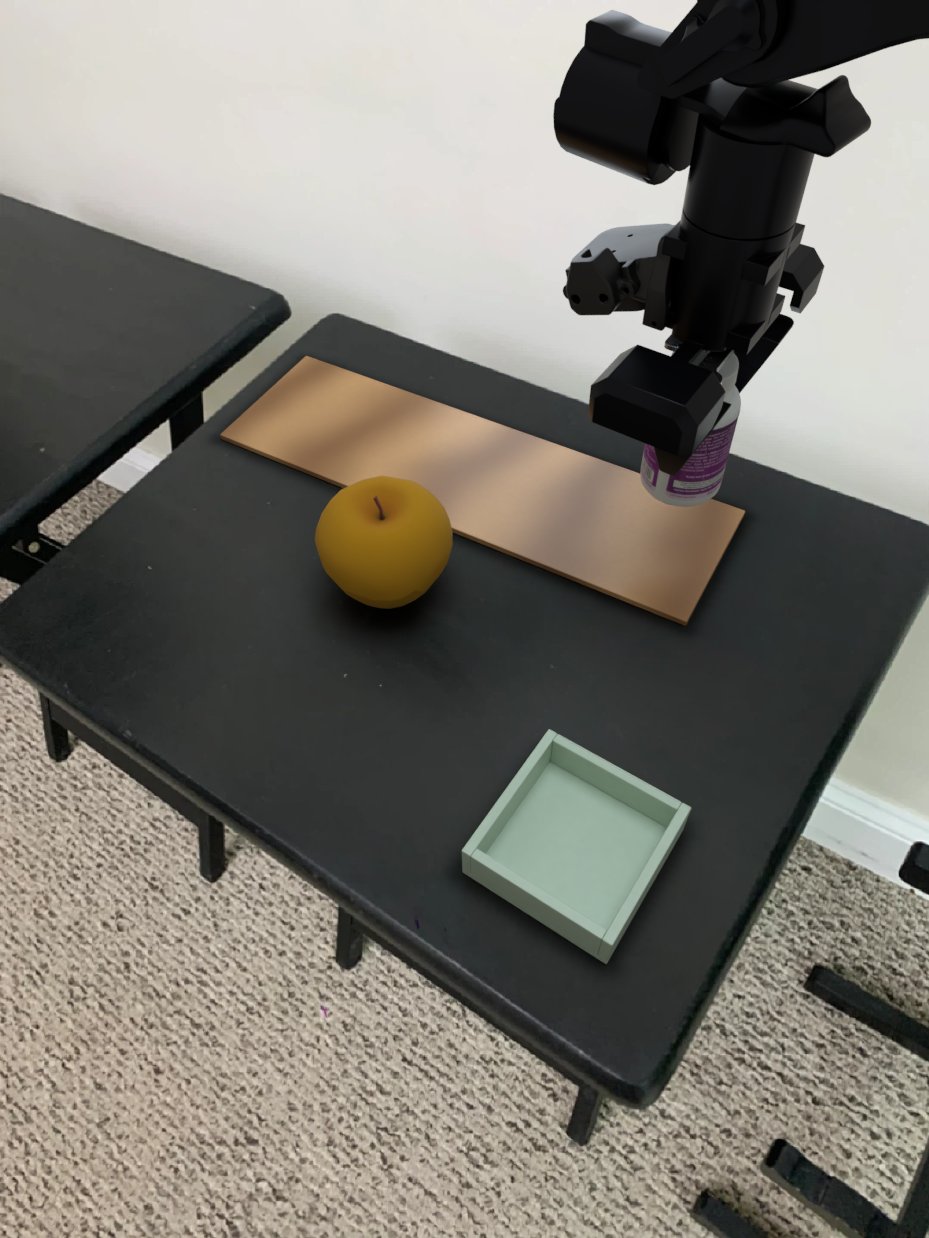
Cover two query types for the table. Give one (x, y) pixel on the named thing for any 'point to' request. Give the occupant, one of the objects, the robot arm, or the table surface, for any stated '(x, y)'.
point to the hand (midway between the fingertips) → (687, 447)
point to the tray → (575, 843)
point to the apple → (384, 540)
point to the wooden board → (495, 485)
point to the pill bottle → (698, 455)
